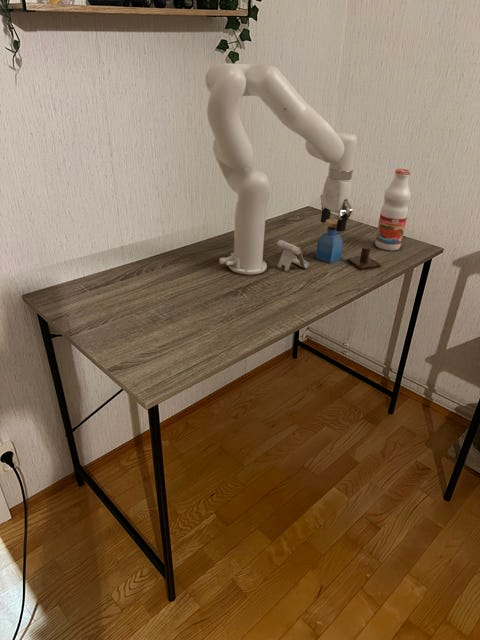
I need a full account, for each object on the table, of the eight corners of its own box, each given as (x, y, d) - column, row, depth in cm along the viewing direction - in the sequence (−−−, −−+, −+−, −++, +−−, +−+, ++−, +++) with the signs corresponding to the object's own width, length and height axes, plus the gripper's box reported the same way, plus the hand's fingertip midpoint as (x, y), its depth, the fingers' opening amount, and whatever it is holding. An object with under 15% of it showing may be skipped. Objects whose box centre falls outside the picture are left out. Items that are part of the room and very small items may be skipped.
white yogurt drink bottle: (399, 243, 187) (415, 168, 173) (401, 252, 179) (418, 174, 165) (374, 240, 189) (388, 165, 175) (374, 249, 181) (389, 171, 167)
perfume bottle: (315, 257, 171) (319, 224, 165) (326, 253, 175) (330, 221, 169) (330, 263, 167) (334, 229, 161) (340, 258, 171) (345, 225, 165)
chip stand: (360, 270, 164) (363, 253, 161) (346, 260, 170) (349, 244, 167) (380, 266, 166) (383, 250, 164) (365, 258, 173) (368, 242, 170)
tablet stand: (308, 268, 163) (311, 244, 159) (291, 273, 159) (294, 249, 154) (290, 259, 169) (292, 236, 164) (273, 264, 164) (275, 241, 160)
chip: (330, 228, 162) (331, 224, 161) (322, 223, 166) (323, 219, 166) (344, 226, 164) (344, 222, 163) (335, 221, 168) (336, 218, 167)
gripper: (315, 168, 162) (309, 219, 171) (345, 182, 149) (337, 236, 157) (334, 167, 165) (327, 217, 174) (366, 180, 151) (356, 234, 160)
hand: (332, 226), depth 165 cm, fingers open, 9 cm apart
